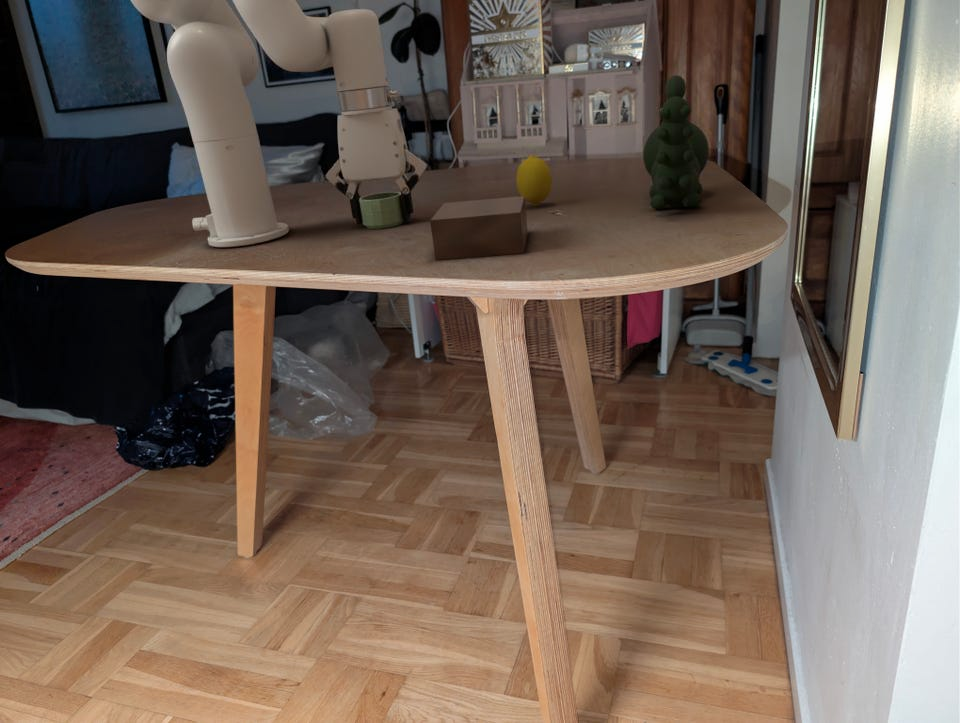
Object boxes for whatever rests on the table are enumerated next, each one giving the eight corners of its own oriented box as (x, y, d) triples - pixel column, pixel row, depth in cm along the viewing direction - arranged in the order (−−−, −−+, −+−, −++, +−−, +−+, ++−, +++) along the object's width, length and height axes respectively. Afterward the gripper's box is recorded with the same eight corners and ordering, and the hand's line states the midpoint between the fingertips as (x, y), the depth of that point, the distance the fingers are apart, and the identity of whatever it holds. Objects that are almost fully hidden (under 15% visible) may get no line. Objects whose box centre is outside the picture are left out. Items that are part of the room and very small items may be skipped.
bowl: (358, 231, 109) (353, 202, 107) (369, 221, 115) (364, 194, 114) (401, 227, 108) (396, 198, 106) (409, 218, 114) (405, 190, 113)
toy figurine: (712, 231, 92) (706, 180, 113) (716, 77, 83) (708, 54, 104) (638, 234, 95) (646, 184, 116) (635, 86, 86) (643, 61, 107)
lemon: (531, 202, 116) (527, 152, 113) (559, 203, 112) (556, 151, 109) (511, 209, 112) (507, 157, 109) (540, 210, 109) (536, 157, 105)
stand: (435, 260, 87) (429, 220, 85) (448, 239, 97) (443, 203, 95) (523, 253, 85) (520, 212, 83) (527, 232, 95) (524, 195, 93)
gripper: (426, 94, 107) (441, 211, 114) (317, 106, 109) (338, 220, 116) (417, 97, 100) (433, 221, 107) (301, 110, 103) (324, 230, 109)
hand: (384, 219), depth 112 cm, fingers closed on bowl, 6 cm apart
